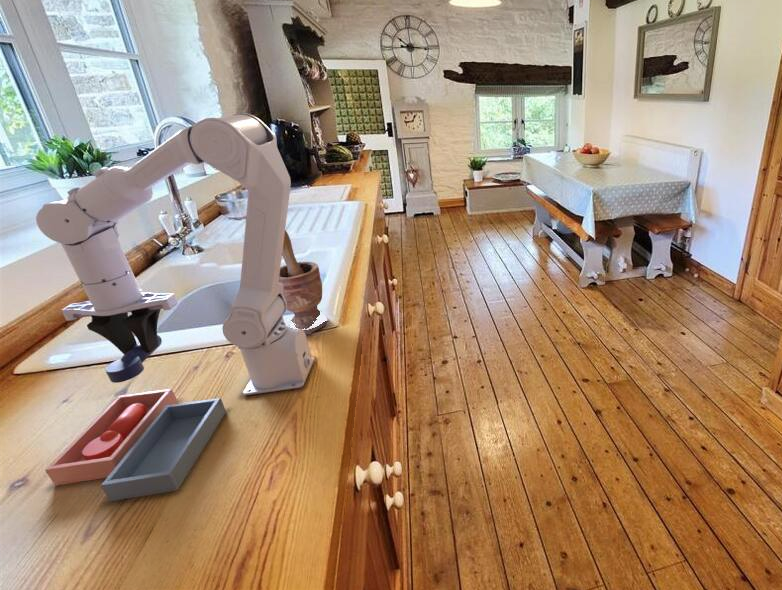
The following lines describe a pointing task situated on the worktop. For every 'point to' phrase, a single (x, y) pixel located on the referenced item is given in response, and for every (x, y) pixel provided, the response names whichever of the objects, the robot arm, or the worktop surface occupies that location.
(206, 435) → the blue bin
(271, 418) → the worktop surface
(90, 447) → the red rubber stamp
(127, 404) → the red bin
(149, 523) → the worktop surface
